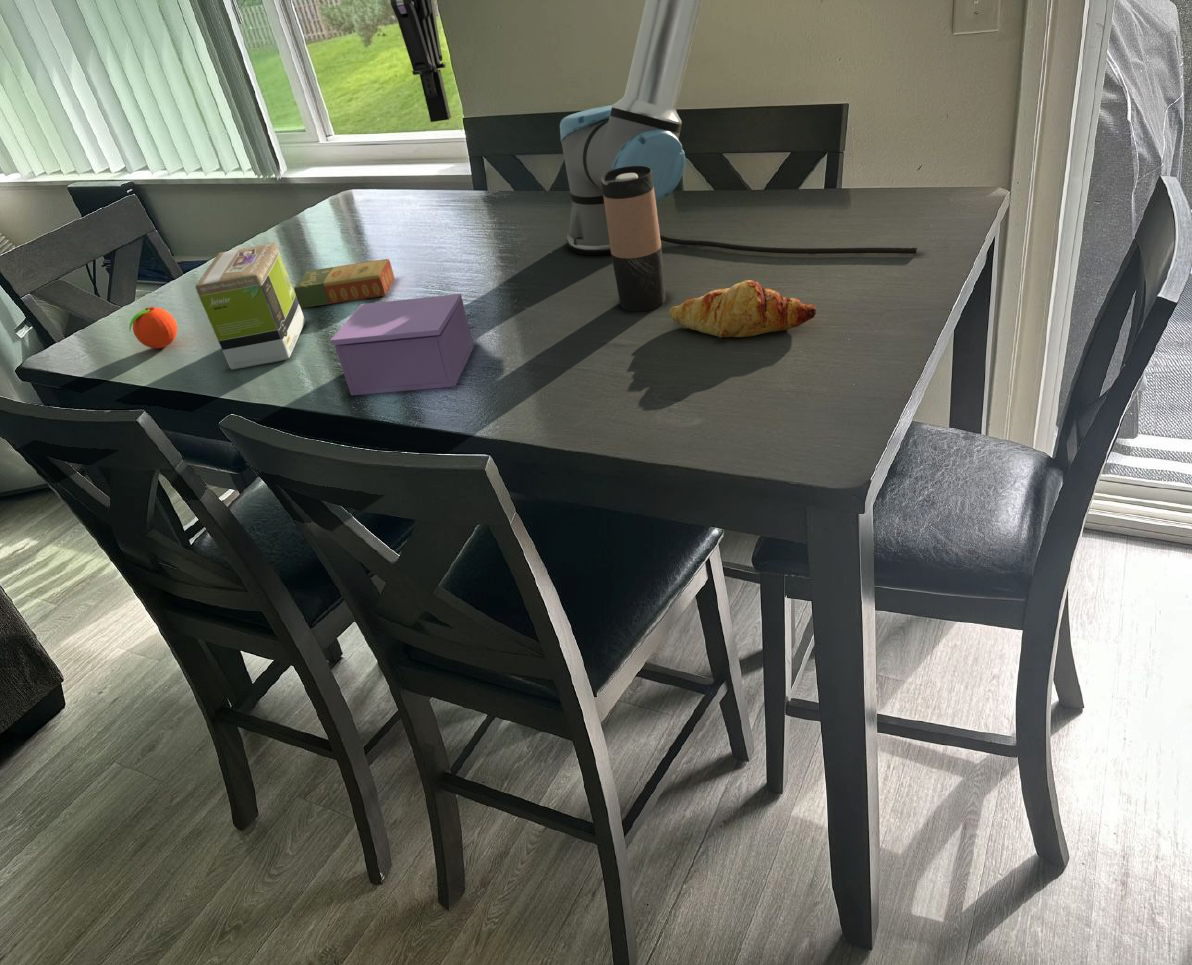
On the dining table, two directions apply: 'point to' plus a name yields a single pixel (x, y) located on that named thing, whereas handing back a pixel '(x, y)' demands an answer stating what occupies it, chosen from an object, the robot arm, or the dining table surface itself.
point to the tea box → (251, 305)
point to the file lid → (397, 319)
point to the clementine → (154, 327)
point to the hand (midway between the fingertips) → (440, 119)
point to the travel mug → (634, 237)
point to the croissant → (742, 311)
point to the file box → (408, 360)
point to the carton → (344, 283)
